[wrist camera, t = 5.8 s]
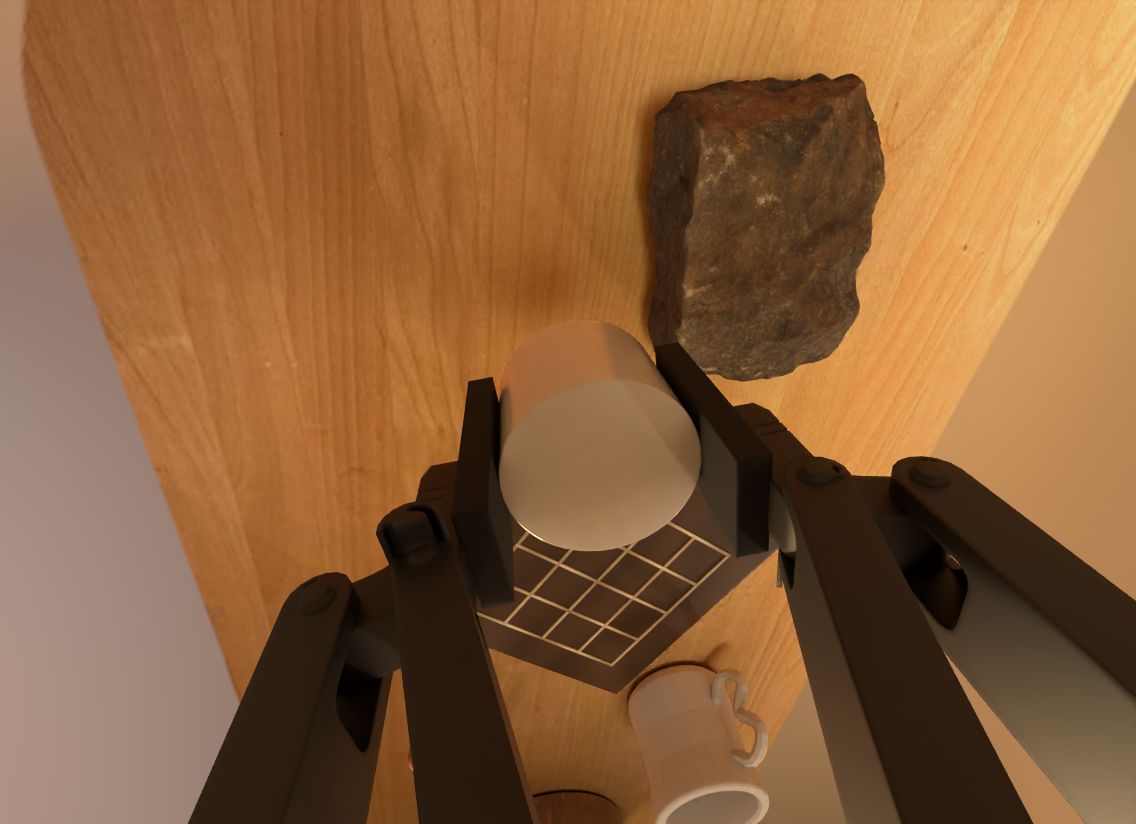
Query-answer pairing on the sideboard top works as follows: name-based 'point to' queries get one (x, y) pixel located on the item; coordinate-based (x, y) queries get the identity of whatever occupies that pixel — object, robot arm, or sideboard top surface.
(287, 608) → the robot arm
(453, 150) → the sideboard top surface
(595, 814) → the wooden container
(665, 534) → the grid board
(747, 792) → the mug
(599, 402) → the white short cylinder
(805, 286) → the stone
